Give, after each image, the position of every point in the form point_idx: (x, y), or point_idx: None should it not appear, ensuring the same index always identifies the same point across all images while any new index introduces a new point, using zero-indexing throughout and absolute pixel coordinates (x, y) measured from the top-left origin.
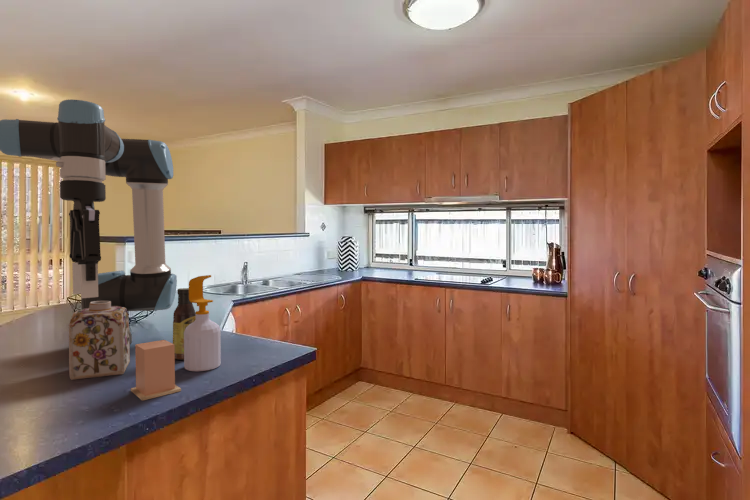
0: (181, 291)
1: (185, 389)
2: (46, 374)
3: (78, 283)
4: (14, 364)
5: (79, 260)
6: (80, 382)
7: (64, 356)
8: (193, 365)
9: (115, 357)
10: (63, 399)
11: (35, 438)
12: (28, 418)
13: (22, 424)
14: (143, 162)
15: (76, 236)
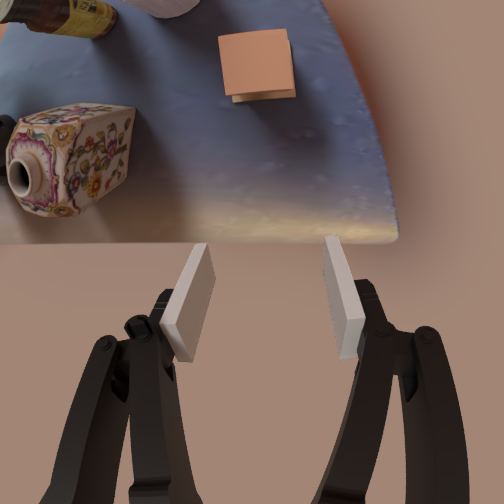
0: (13, 10)
1: None
2: None
3: (205, 290)
4: (46, 237)
5: (169, 352)
6: (144, 165)
7: None
8: (191, 4)
9: (119, 123)
10: (212, 187)
11: (336, 221)
12: (263, 224)
13: (280, 230)
14: None
15: (188, 468)
